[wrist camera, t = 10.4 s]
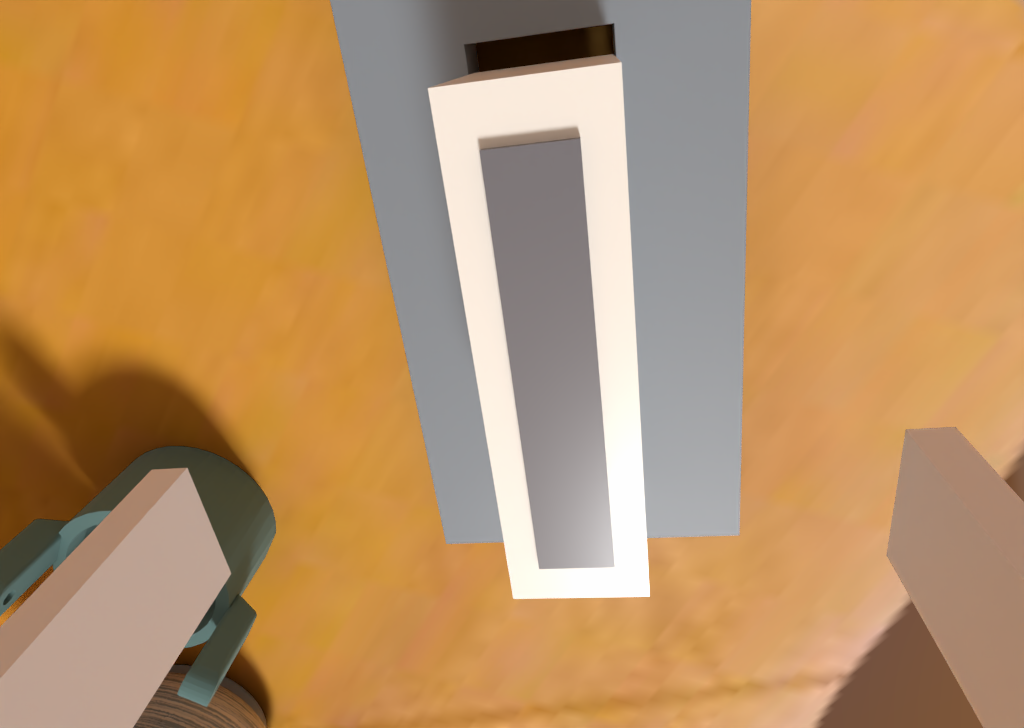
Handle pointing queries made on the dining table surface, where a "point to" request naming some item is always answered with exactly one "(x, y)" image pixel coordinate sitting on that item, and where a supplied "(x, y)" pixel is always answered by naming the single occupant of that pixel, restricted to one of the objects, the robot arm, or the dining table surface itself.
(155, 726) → the vase
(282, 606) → the dining table surface
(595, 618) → the dining table surface
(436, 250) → the board
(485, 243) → the block
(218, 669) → the bracket
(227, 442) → the dining table surface
